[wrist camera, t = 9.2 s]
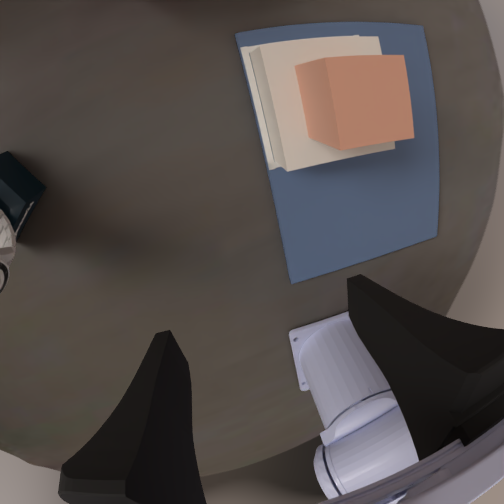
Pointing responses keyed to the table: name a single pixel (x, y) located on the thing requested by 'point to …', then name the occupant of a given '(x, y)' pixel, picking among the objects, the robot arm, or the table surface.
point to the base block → (289, 99)
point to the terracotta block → (356, 100)
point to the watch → (14, 207)
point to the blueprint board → (355, 166)
